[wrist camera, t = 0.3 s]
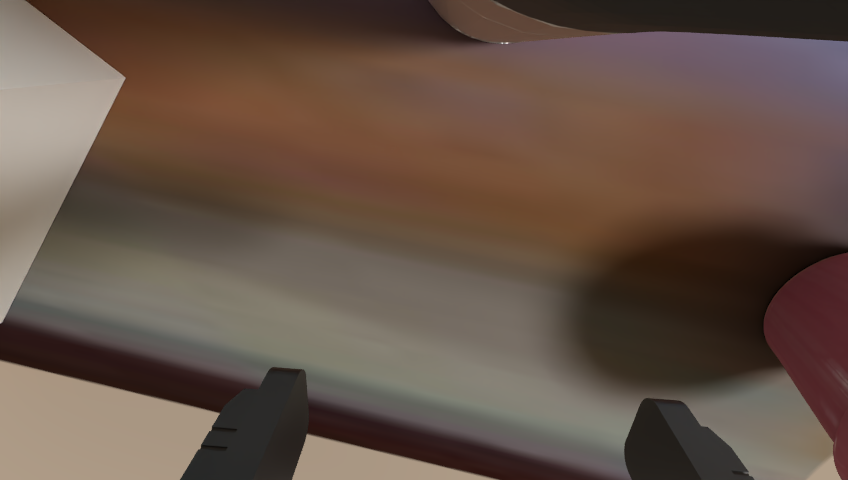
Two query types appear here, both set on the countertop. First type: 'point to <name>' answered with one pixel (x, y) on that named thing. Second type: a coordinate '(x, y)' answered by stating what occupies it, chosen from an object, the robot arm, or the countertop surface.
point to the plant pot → (816, 344)
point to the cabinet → (42, 129)
